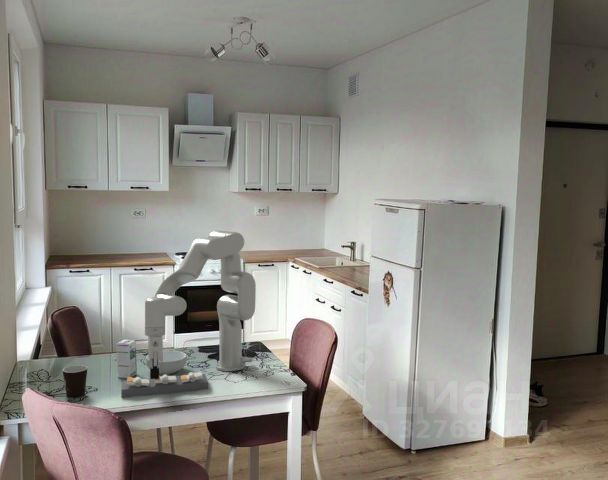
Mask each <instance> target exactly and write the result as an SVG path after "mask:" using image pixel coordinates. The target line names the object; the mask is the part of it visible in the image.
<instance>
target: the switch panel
mask: <svg viewBox="0 0 608 480" xmlns="http://www.w3.org/2000/svg"><path fill="white" fill-rule="evenodd" d="M202 375H203V378H199V379H195V381H194V382H191V381H187V382H183V383H182V380H181V376H182V375H175V376H176V382H169V383H168V384H163V383H155V382H154V379H150V378H148V379H149V386H145V385H141V386H139V387H137V386H135V385H132V384H127V380H121V386H120V387H121V392H120V393H121V396H120V397H121V398H123V399H124V398H132V397H134V398H135V397H144V396H152V395H153V396H154V395H164V394H174V393H185V392H195V391H197V392H198V391H206V390H207V391H208V390H209V380H208V377H207V375H206V373H202Z"/></svg>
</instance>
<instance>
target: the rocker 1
mask: <svg viewBox="0 0 608 480" xmlns="http://www.w3.org/2000/svg"><path fill="white" fill-rule="evenodd" d="M149 379H150V378H141V376H136V377H134V376H132V377H127V378H126V381H127V384H132V385H135V386H137V387H139V386H141V385H145V386H149Z"/></svg>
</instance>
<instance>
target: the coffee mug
mask: <svg viewBox="0 0 608 480" xmlns="http://www.w3.org/2000/svg"><path fill="white" fill-rule="evenodd" d="M62 376H63V381H64V388H65V395H66V398H68V399H77V398H82V397H83V396H85V395H86V384H87V377H88V366H86V365H82V364H76V365H74V364H73V365H69V366H67V367H64V368H62Z"/></svg>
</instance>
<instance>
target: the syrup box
mask: <svg viewBox="0 0 608 480" xmlns="http://www.w3.org/2000/svg"><path fill="white" fill-rule="evenodd" d="M136 343H137V342H136V340H135V339H122V340H121V341H119V342H117V343H116V344H115V345H116V367H117V369H116V371H117V374H116V375H117V378H121V379H127V377H134V376H135V375H137V373H138V372H137V370H138V369H137V346H136V345H137V344H136Z"/></svg>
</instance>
